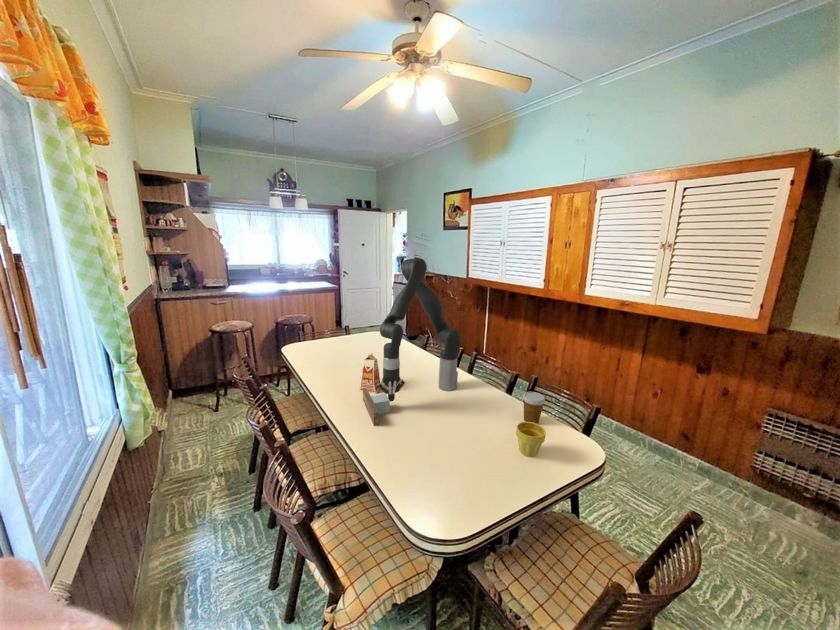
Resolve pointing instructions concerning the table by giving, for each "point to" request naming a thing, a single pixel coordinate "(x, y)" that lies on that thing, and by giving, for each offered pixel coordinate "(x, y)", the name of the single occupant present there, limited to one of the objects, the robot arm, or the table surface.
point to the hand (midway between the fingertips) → (391, 400)
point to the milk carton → (370, 375)
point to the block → (381, 403)
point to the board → (370, 407)
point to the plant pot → (530, 438)
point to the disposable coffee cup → (533, 406)
